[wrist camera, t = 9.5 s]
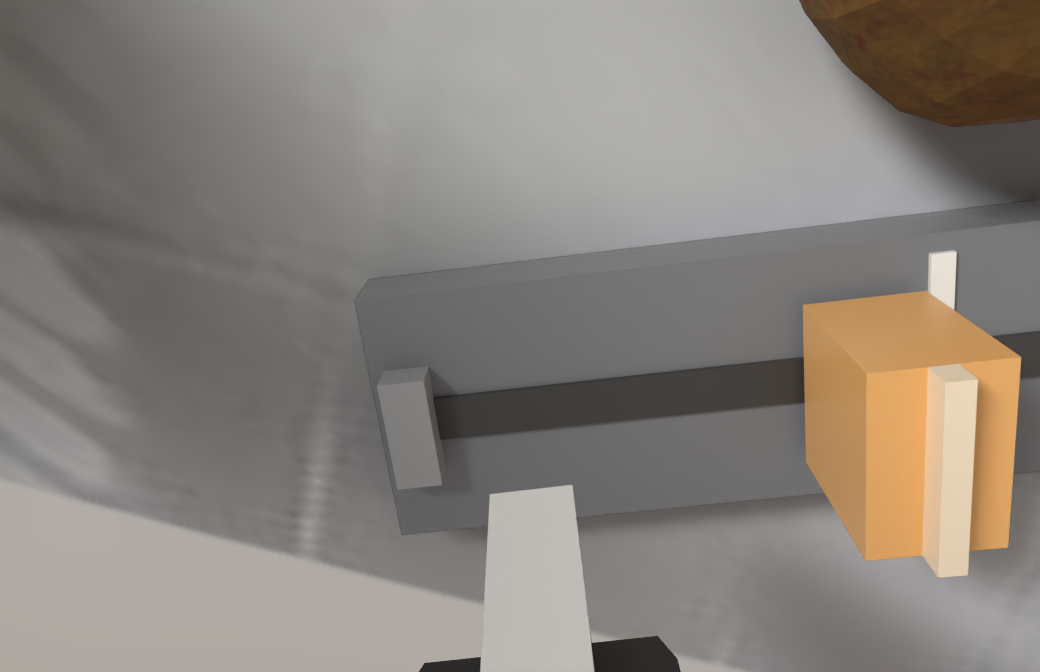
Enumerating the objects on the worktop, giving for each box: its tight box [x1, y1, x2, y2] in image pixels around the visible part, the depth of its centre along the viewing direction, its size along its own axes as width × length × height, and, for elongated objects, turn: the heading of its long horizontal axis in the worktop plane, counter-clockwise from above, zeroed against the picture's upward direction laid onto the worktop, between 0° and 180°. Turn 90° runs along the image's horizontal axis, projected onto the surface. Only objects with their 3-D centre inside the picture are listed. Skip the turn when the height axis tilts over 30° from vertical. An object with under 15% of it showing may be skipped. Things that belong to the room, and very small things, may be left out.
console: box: [354, 200, 1040, 535], centre depth 23 cm, size 20×7×3 cm, turn 97°
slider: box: [803, 291, 1021, 578], centre depth 20 cm, size 3×4×5 cm
